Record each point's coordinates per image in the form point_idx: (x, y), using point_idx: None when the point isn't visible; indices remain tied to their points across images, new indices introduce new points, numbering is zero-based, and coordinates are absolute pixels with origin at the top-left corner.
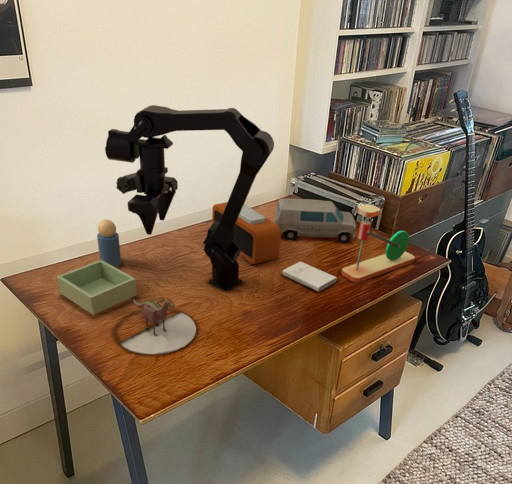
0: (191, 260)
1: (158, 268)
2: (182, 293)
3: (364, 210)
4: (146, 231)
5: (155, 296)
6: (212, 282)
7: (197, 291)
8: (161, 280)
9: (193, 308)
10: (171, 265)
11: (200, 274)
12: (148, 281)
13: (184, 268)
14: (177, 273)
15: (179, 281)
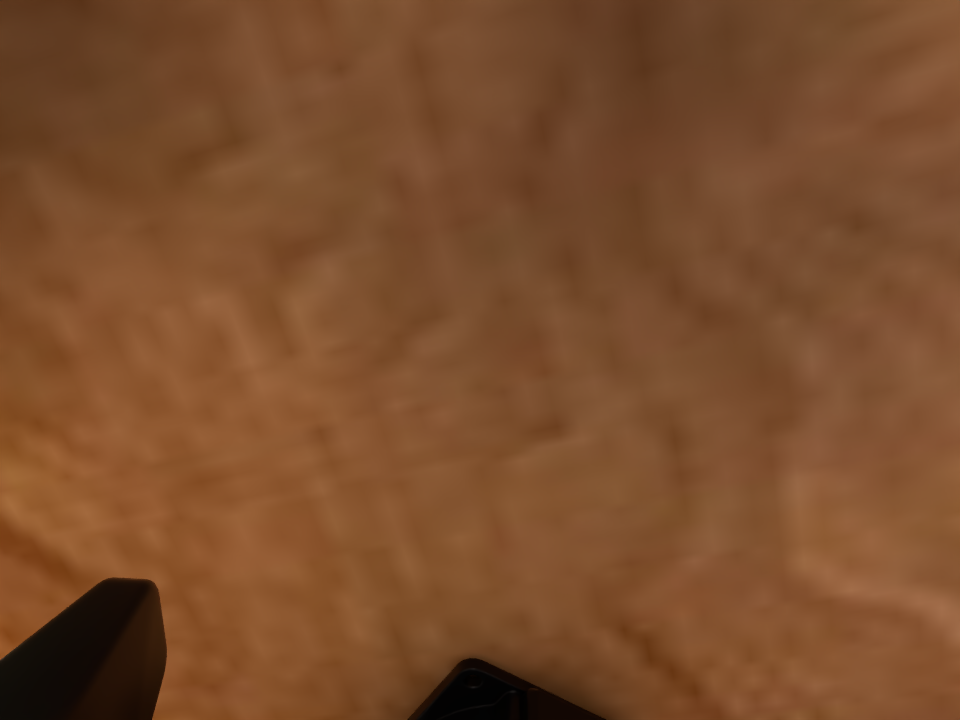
0: (919, 447)
1: (685, 148)
2: (212, 503)
3: None
4: (39, 651)
5: (49, 289)
6: (446, 696)
7: (293, 601)
8: (399, 260)
9: (15, 620)
10: (781, 276)
11: (613, 572)
12: (332, 122)
13: (721, 420)
14: (595, 379)
15: (428, 433)
